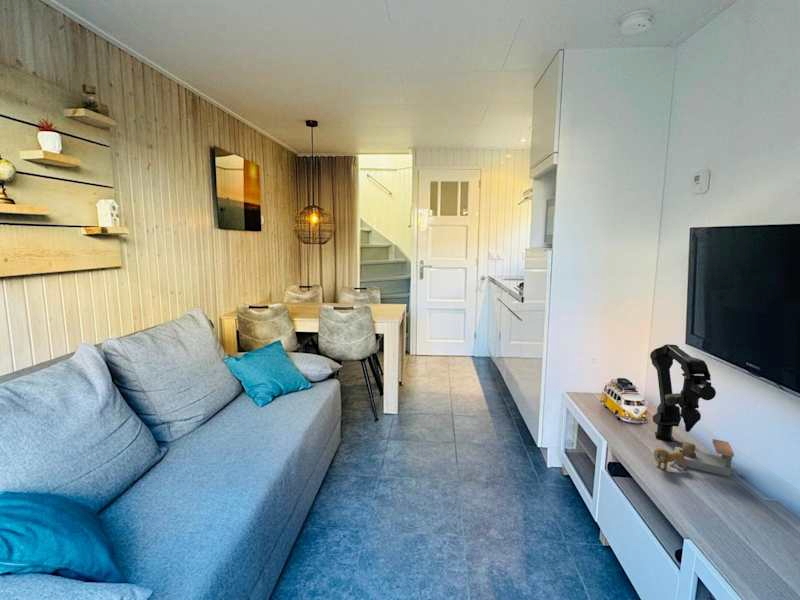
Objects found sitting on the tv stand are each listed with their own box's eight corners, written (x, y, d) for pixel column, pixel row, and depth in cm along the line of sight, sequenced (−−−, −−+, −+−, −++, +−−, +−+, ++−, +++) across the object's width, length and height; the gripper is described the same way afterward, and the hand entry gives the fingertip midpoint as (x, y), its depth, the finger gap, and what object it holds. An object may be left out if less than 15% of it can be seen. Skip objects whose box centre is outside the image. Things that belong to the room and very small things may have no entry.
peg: (680, 457, 171) (682, 441, 170) (692, 460, 169) (694, 443, 168) (681, 462, 168) (683, 445, 167) (693, 465, 166) (695, 448, 165)
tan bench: (709, 460, 169) (712, 438, 168) (725, 464, 167) (728, 442, 166) (714, 473, 160) (717, 450, 158) (730, 477, 157) (734, 454, 156)
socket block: (674, 453, 175) (675, 446, 174) (725, 464, 166) (726, 457, 166) (676, 464, 166) (677, 457, 165) (730, 476, 158) (731, 469, 157)
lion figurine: (660, 474, 158) (662, 452, 157) (647, 467, 163) (650, 445, 162) (690, 469, 162) (693, 447, 161) (677, 462, 167) (680, 441, 166)
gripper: (666, 379, 182) (662, 414, 184) (668, 393, 166) (663, 431, 168) (698, 384, 176) (693, 420, 179) (703, 399, 160) (697, 438, 163)
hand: (686, 427), depth 172 cm, fingers open, 9 cm apart
